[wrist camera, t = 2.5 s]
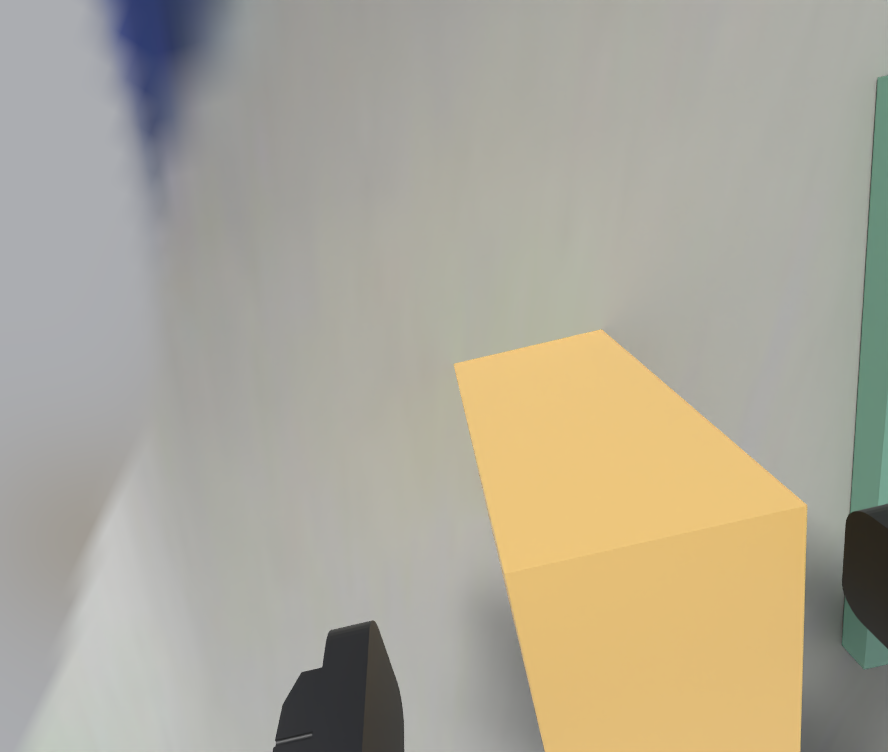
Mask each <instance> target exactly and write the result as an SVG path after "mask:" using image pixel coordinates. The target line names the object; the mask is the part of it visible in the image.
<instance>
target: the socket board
mask: <svg viewBox="0 0 888 752" xmlns="http://www.w3.org/2000/svg"><path fill="white" fill-rule="evenodd" d="M884 504H888V75H887V76H882V77H878V83H877V99H876V115H875V131H874V146H873V162H872V178H871V194H870V210H869V225H868V241H867V257H866V273H865V289H864V304H863V320H862V336H861V352H860V367H859V383H858V399H857V415H856V431H855V446H854V462H853V478H852V494H851V510H850V513H852V512H854V511H858V510H862V509H867V508H871V507H875V506H880V505H884ZM842 646H843V647H844V648H845V649H846V650H847V651H848V652H849V654H850V655H851V656H852V657H853V658H854V659H855V660H856V661H857V662H858V664H859V665H860V666H861V667H862V668H863V669H864V670H865V669H869V668H874V667H878V666H883V665H887V664H888V649H887V648H886V647H885V646H884V645H883V644H882V643H881V642H880V641H879V640H878V639H877V638H876V637H875V636H874V635H873V634H872V633H871V632H870V631H869V630H868V629H867V628H866V627H865V626H864V625H863V624H862V623H861V622H860V621H859V619H858V618H857V617H856V616H855V614H854V613H853V611H852V610H851V608H850V606H849V604H848V602H847V600H846V597H845V604H844V620H843V636H842Z"/></svg>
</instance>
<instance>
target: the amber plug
mask: <svg viewBox="0 0 888 752" xmlns="http://www.w3.org/2000/svg"><path fill="white" fill-rule="evenodd" d="M454 368H455V372H456V377H457V381H458V385H459V390H460V394H461V398H462V402H463V407H464V411H465V415H466V420H467V424H468V428H469V433H470V437H471V441H472V446H473V450H474V454H475V459H476V463H477V467H478V471H479V476H480V480H481V484H482V489H483V493H484V497H485V502H486V506H487V510H488V515H489V519H490V523H491V527H492V531H493V536H494V540H495V544H496V548H497V553H498V557H499V561H500V565H501V569H502V574H503V578H504V582H505V586H506V590H507V595H508V599H509V603H510V607H511V612H512V616H513V620H514V624H515V628H516V633H517V637H518V641H519V645H520V649H521V654H522V658H523V662H524V666H525V671H526V675H527V679H528V683H529V687H530V692H531V696H532V700H533V704H534V708H535V713H536V717H537V721H538V725H539V730H540V734H541V738H542V742H543V746H544V751H545V752H800V743H801V708H802V672H803V637H804V601H805V566H806V530H807V505H806V504H805V503H804V502H803V501H802V500H800V499H799V498H798V497H797V496H796V495H794V494H793V493H792V492H791V491H790V490H789V489H787V488H786V487H785V486H784V485H783V484H782V483H780V482H779V481H778V480H777V479H776V478H775V477H773V476H772V475H771V474H770V473H769V472H768V471H766V470H765V469H764V468H763V467H762V466H761V465H759V464H758V463H757V462H756V461H755V460H754V459H752V458H751V457H750V456H749V455H748V454H747V453H745V452H744V451H743V450H742V449H741V448H740V447H738V446H737V445H736V444H735V443H734V442H733V441H731V440H730V439H729V438H728V437H727V436H726V435H724V434H723V433H722V432H721V431H720V430H719V429H717V428H716V427H715V426H714V425H713V424H712V423H710V422H709V421H708V420H707V419H706V418H705V417H703V416H702V415H701V414H700V413H699V412H698V411H696V410H695V409H694V408H693V407H692V406H691V405H689V404H688V403H687V402H686V401H685V400H684V399H682V398H681V397H680V396H679V395H678V394H677V393H675V392H674V391H673V390H672V389H671V388H670V387H668V386H667V385H666V384H665V383H664V382H662V381H661V380H660V379H659V378H658V377H657V376H655V375H654V374H653V373H652V372H651V371H650V370H648V369H647V368H646V367H645V366H644V365H643V364H641V363H640V362H639V361H638V360H637V359H636V358H634V357H633V356H632V355H631V354H630V353H629V352H627V351H626V350H625V349H624V348H623V347H622V346H620V345H619V344H618V343H617V342H616V341H615V340H613V339H612V338H611V337H610V336H609V335H608V334H606V333H605V332H604V331H603V330H602V329H601V330H597V331H592V332H588V333H584V334H580V335H575V336H571V337H567V338H562V339H558V340H554V341H550V342H545V343H541V344H537V345H533V346H528V347H524V348H520V349H515V350H511V351H507V352H503V353H498V354H494V355H490V356H485V357H481V358H477V359H473V360H468V361H464V362H460V363H456V364H454Z"/></svg>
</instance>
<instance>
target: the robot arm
mask: <svg viewBox="0 0 888 752" xmlns="http://www.w3.org/2000/svg"><path fill="white" fill-rule="evenodd" d="M842 586H843V591H844V595H845V597H846V600H847V602H848V604H849V606H850V608H851V610H852V611H853V613H854V614H855V616H856V617H857V618H858V619H859V621H860V622H861V623H862V624H863V625H864V626H865V627H866V628H867V629H868V630H869V631H870V632H871V633H872V634H873V635H874V636H875V637H876V638H877V639H878V640H879V641H880V642H881V643H882V644H883V645H884V646H885V647H886V648H887V649H888V504H884V505H880V506H875V507H871V508H867V509H862V510H858V511H854V512H852V513H850V514H849V515H848V517H847V520H846V528H845V544H844V560H843V576H842ZM275 741H276V746H275V747H274V748H273V752H404V719H403V709H402V702H401V696H400V691H399V687H398V683H397V680H396V677H395V675H394V672H393V669H392V666H391V663H390V660H389V657H388V654H387V652H386V649H385V646H384V643H383V640H382V637H381V634H380V631H379V629H378V626H377V624H376V622H375V621H369V622H364V623H360V624H356V625H351V626H347V627H343V628H338V629H334V630H331V631H329V633H328V636H327V640H326V646H325V653H324V660H323V666H322V668H318V669H314V670H310V671H305V672H302V673H301V674H300V676H299V678H298V679H297V681H296V683H295V685H294V686H293V688H292V690H291V691H290V693H289V695H288V697H287V698H286V700H285V702H284V703H283V706H282V711H281V715H280V720H279V725H278V729H277V734H276V739H275Z"/></svg>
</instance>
